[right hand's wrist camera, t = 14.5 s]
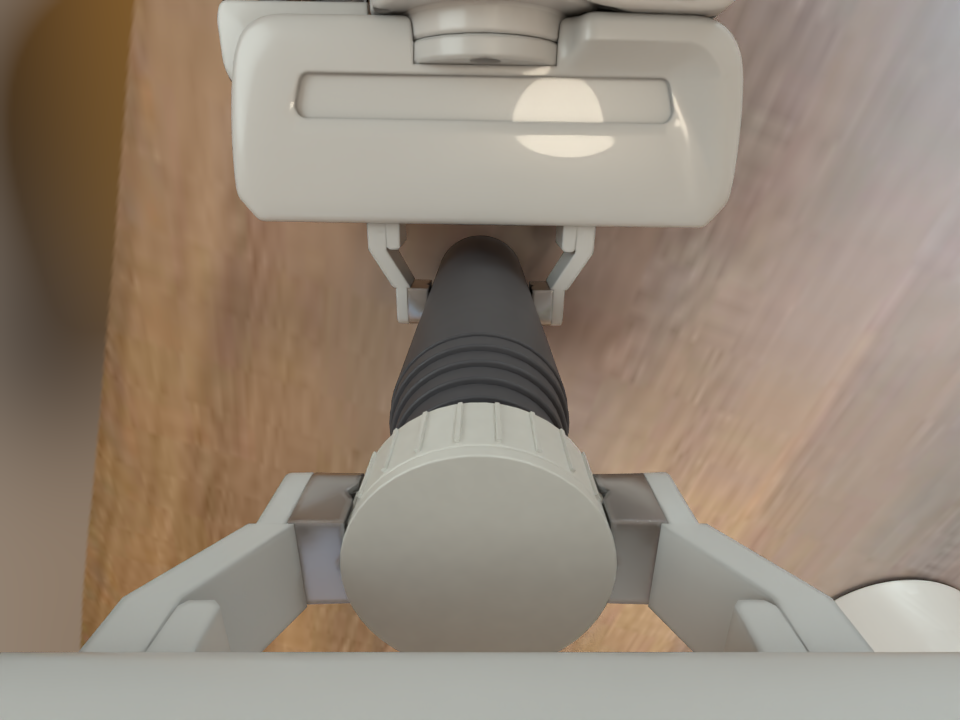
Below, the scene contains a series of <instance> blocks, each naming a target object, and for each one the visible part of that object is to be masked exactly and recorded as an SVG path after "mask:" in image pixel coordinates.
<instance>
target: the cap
mask: <svg viewBox="0 0 960 720" xmlns="http://www.w3.org/2000/svg"><path fill="white" fill-rule="evenodd" d="M602 501H603V496H602V494H601V493H599V492H598V489H597V487H596V484H595V481H594V478H593V475H592V472H591V469H590V466H589V463H588V460H587V457H586V454H585V453H584V452H582V453H581V452H580V450H579V449H578V448H577V447H576V445H575V444H574V443H573V442H572V440H571V439H570V438H568V437H567V436H566V435H565V431H564V430H563V429H562V428H561V429H558V428H557V427H555V426H554V425H552V424H551V423H550V422H548V421H546V420H545V419H543V418H541V417H539V416H537V415H535V413H534V412H532V411H531V412H527V411H525V410H522V409H519V408H516V407H511V406H507V405H503V404H500V403H498V402H495V403H462V402H459V403H458V404H454V405H450V406H446V407H442V408H438V409H435V410H433V411H430V412H427V411H425V412H423V414H422V415H420V416H419V417H417V418H415V419H413V420H411V421H409V422H408V423H406V424H405V425H404V426H402V427H401V428H399V429H397V428H396V429H395V430H393V434H392V435H391V436H390V437H389V438H388V439H387V440H386V441H385V442H384V444H383V445H382V446H381V447H380V449H379V450H378V451H377V453H376V452H373V454H372V456H371V459H370V462H369V465H368V467H367V470H366V473H365V476H364V478H363V481H362V484H361V486H360V489H359V491H358V492H357V493H356V495H355V498H354V500H353V506H354V507H353V509H352V512H351V515H350V518H349V520H348V523H347V529H346V532H345V534H344V537H343V542H342V547H341V552H340V569H341V577H342V582H343V585H344V589H345V592H346V595H347V597H348V599H349V601H350V603H351V605H352V607H353V609H354V610H355V612H356V613H357V615H358V616H359V618H360V619H361V620H362V621H363V622H364V624H365V625H366V626H367V627H368V628H369V629H370V630H371V631H372V632H373V633H374V634H375V635H377V636H378V637H379V638H380V639H381V640H382V641H384V642H385V643H387V644H388V645H390V646H391V647H393V648H394V649H396V650H398V651H400V652H558V651H560V650H562V649H564V648H565V647H567V646H568V645H570V644H571V643H573V642H574V641H576V640H577V639H578V638H579V637H580V636H581V635H583V634H584V633H585V632H586V631H587V630H588V629H589V628H590V627H591V626H592V624H593V623H594V622H595V621H596V620H597V619H598V617H599V616H600V614H601V613H602V611H603V610H604V608H605V606H606V604H607V602H608V600H609V598H610V596H611V593H612V589H613V586H614V582H615V578H616V569H617V557H616V548H615V544H614V539H613V536H612V533H611V530H610V527H609V524H608V521H607V518H606V515H605V512H604V509H603V506H602Z"/></svg>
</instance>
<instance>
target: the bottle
mask: <svg viewBox="0 0 960 720" xmlns="http://www.w3.org/2000/svg"><path fill="white" fill-rule="evenodd" d="M459 402H462V403H495V402H498V403H500V404H503V405H507V406H511V407H516V408H519V409H522V410H525V411H527V412H531V411H532V412H534V413H535V415H537V416H539V417H541V418H543V419H545V420H546V421H548V422H550V423H551V424H552V425H554V426H555V427H557V428H558V429H561V428H562V429H563V430H564V431H565V435H566V436H567V437H568V433H569V413H568V406H567V398H566V394H565V390H564V387H563V384H562V381H561V378H560V375H559V373H558V370H557V367H556V364H555V361H554V358H553V355H552V353H551V350H550V347H549V344H548V341H547V338H546V336H545V333H544V330H543V327H542V324H541V321H540V319H539V316H538V313H537V310H536V307H535V304H534V302H533V299H532V296H531V293H530V290H529V287H528V285H527V282H526V279H525V276H524V273H523V270H522V268H521V265H520V262H519V260H518V258H517V256H516V255H515V253H514V252H513V251H512V249H511V248H510V247H509V246H507V245H506V244H505V243H503V242H502V241H500V240H498V239H495V238H492V237H488V236H472V237H468V238H465V239H463V240H461V241H459V242H457V243H456V244H455V245H453V246H452V247H451V248H450V249H449V250H448V251H447V253H446V254H445V255H444V257H443V259H442V261H441V264H440V266H439V269H438V272H437V275H436V277H435V280H434V283H433V285H432V288H431V291H430V294H429V296H428V299H427V302H426V305H425V307H424V310H423V313H422V315H421V318H420V321H419V324H418V326H417V329H416V332H415V334H414V337H413V340H412V343H411V345H410V348H409V351H408V354H407V356H406V359H405V362H404V364H403V367H402V370H401V373H400V375H399V378H398V381H397V384H396V386H395V389H394V393H393V397H392V404H391V411H390V422H389V424H390V434H391V435H392V434H393V430H395V429H396V428H397V429H399V428H401V427H402V426H404V425H405V424H406V423H408V422H409V421H411V420H413V419H415V418H417V417H419V416H420V415H422V414H423V412H425V411H427V412H430V411H433V410H435V409H438V408H442V407H446V406H450V405H454V404H458V403H459ZM391 435H390V436H391Z"/></svg>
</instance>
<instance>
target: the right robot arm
mask: <svg viewBox="0 0 960 720" xmlns="http://www.w3.org/2000/svg"><path fill="white" fill-rule="evenodd" d="M592 475H593V478H594V481H595V484H596V487H597V489H598V492H599V493H601V494H602V496H603V501H602V506H603V509H604V512H605V515H606V518H607V521H608V524H609V527H610V530H611V533H612V536H613V539H614V544H615V548H616V557H617V569H616V578H615V582H614V586H613V589H612V593H611V596H610V598H609V600H608V602H607V603H619V604H649V605H648V607H649V608H650V609H651V610H652V611H653V612H654V613H655V614H656V615H657V616H658V617H659V618H660V619H661V620H662V621H663V622H664V623H665V624H666V625H667V626H668V627H669V628H670V629H671V630H672V631H673V632H674V633H675V634H676V635H677V636H678V637H679V638H680V639H681V640H682V641H683V642H684V643H685V644H686V645H687V646H688V647H689V648H690V649H691V650H692V651H693V652H262V651H263V650H264V649H265V648H266V647H267V646H268V645H269V644H270V643H271V642H272V641H273V640H274V639H275V638H276V637H277V636H278V635H279V634H280V633H281V632H282V631H283V630H284V629H285V628H286V627H287V626H288V625H289V624H290V623H291V622H292V621H293V620H294V619H295V618H296V617H297V616H298V615H299V614H300V613H301V612H302V611H303V610H304V609H305V608H306V607H307V604H335V603H350V601H349V599H348V597H347V595H346V592H345V589H344V585H343V582H342V577H341V569H340V552H341V547H342V542H343V537H344V534H345V532H346V529H347V523H348V520H349V518H350V515H351V512H352V509H353V507H354V506H353V500H354V498H355V495H356V493H357V492H358V491H359V489H360V486H361V484H362V481H363V478H364V476H365V475H364V474H360V473H313V472H299V473H289V474H287V475H286V476H285V477H284V479H283V480H282V482H281V484H280V485H279V487H278V489H277V490H276V492H275V493H274V495H273V497H272V498H271V500H270V502H269V503H268V505H267V507H266V508H265V510H264V511H263V513H262V515H261V516H260V518H259V520H258V521H257V523H256V524H247V525H245V526H244V527H242V528H240V529H239V530H237V531H235V532H233V533H232V534H230V535H228V536H227V537H225V538H223V539H221V540H220V541H218V542H216V543H215V544H213V545H211V546H210V547H208V548H206V549H204V550H203V551H201V552H199V553H198V554H196V555H194V556H193V557H191V558H189V559H187V560H186V561H184V562H182V563H181V564H179V565H177V566H175V567H174V568H172V569H170V570H169V571H167V572H165V573H164V574H162V575H160V576H158V577H157V578H155V579H153V580H152V581H150V582H148V583H146V584H145V585H143V586H141V587H140V588H138V589H136V590H135V591H133V592H131V593H129V594H128V595H126V596H124V597H123V598H122V599H121V600H120V601H119V603H118V604H117V605H116V606H115V608H114V609H113V610H112V611H111V612H110V614H109V615H108V616H107V617H106V619H105V620H104V621H103V622H102V624H101V625H100V626H99V627H98V629H97V630H96V631H95V632H94V633H93V635H92V636H91V637H90V638H89V640H88V641H87V642H86V643H85V645H84V646H83V647H82V648H81V650H80V651H79V652H0V720H960V591H959V590H957V589H955V588H952V587H950V586H947V585H944V584H941V583H937V582H932V581H925V580H898V581H890V582H884V583H879V584H875V585H871V586H867V587H864V588H861V589H858V590H856V591H853V592H851V593H848V594H846V595H844V596H842V597H840V598H838V599H836V600H833V599H832V598H831V597H829V596H827V595H826V594H824V593H822V592H821V591H819V590H817V589H816V588H814V587H812V586H811V585H809V584H807V583H806V582H804V581H802V580H801V579H799V578H797V577H795V576H794V575H792V574H790V573H789V572H787V571H785V570H784V569H782V568H780V567H779V566H777V565H775V564H774V563H772V562H770V561H769V560H767V559H765V558H764V557H762V556H760V555H758V554H757V553H755V552H753V551H752V550H750V549H748V548H747V547H745V546H743V545H742V544H740V543H738V542H737V541H735V540H733V539H732V538H730V537H728V536H726V535H725V534H723V533H721V532H720V531H718V530H716V529H715V528H713V527H711V526H710V525H708V524H699V523H698V521H697V520H696V518H695V516H694V515H693V513H692V511H691V510H690V508H689V506H688V505H687V503H686V501H685V500H684V498H683V496H682V495H681V493H680V491H679V490H678V488H677V487H676V485H675V483H674V482H673V480H672V478H671V477H670V475H669V474H668V473H666V472H654V473H634V474H592Z"/></svg>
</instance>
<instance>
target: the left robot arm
mask: <svg viewBox="0 0 960 720" xmlns="http://www.w3.org/2000/svg"><path fill="white" fill-rule="evenodd" d="M734 1H735V0H302V1H301V0H223V1H222V2H221V4H220V5H219V9H218V16H217V18H218V30H219V37H220V43H221V50H222V57H223V62H224V66H225V69H226V71H227V74H228V76H229V78H230V80H231V82H232V99H231V121H232V148H233V162H234V173H235V182H236V189H237V193H238V195H239V198H240V199H241V200H242V202H243V203H244V204H245V205H246V206H247V207H248V208H249V210H250V211H251V212H252V213H253V214H254V215H255V216H256V217H257V218H258V219H259V220H262V221H272V222H337V223H367V234H368V250H369V251H370V253H371V254H372V256H373V257H374V259H375V260H376V262H377V264H378V265H379V267H380V268H381V270H382V271H383V273H384V274H385V276H386V277H387V279H388V280H389V282H390V283H391V285H392V287H393V288H396V299H397V319H398V323H404V324H409V323H419V321H420V318H421V315H422V313H423V310H424V307H425V305H426V302H427V299H428V296H429V294H430V291H431V288H432V280H421V279H415V278H414V276H413V274H412V273H411V271H410V269H409V268H408V266H407V264H406V262H405V261H404V259H403V257H402V256H401V254H400V252H399V250H398V249H399V248H400V247H401V245H402V244H403V243H404V242H405V241H406V224H467V225H532V226H556V243H557V244H558V245H559V247H560V248H561V249H562V250H563V251H564V252H563V254H562V255H561V257H560V259H559V260H558V262H557V263H556V265H555V267H554V268H553V270H552V271H551V273H550V274H549V276H548V278H547V279H546V281H529V290H530V293H531V296H532V299H533V302H534V304H535V307H536V310H537V313H538V316H539V319H540V321H541V324H542V325H544V326H561V324H562V320H563V307H564V294H565V290H568V289H569V287H570V286H571V285H572V283H573V282H574V280H575V279H576V277H577V276H578V275H579V273H580V272H581V270H582V269H583V267H584V266H585V265H586V263H587V262H588V260H589V259H590V257H591V256H592V255H593V251H594V241H595V232H596V226H597V227H662V228H702V227H705V226H706V225H708V224H709V223H710V222H711V221H712V220H713V219H714V218H715V217H716V215H717V214H718V213H719V212H720V211H721V210H722V209H723V208H724V207H725V205H726V204H727V202H728V200H729V197H730V193H731V189H732V185H733V179H734V174H735V168H736V161H737V154H738V146H739V137H740V127H741V116H742V100H743V65H742V58H741V54H740V50H739V47H738V44H737V42H736V40H735V38H734V37H733V35H732V34H731V32H730V31H729V30H728V29H727V28H726V27H725V26H724V25H722V24H721V23H719V22H718V21H716V20H713V18H715V17H716V16H718V15H719V14H720V13H722V12H723V11H724V10H725V9H727V8H728V7H729V6H730V5H731V4H732V3H733V2H734ZM369 2H370V5H369Z"/></svg>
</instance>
